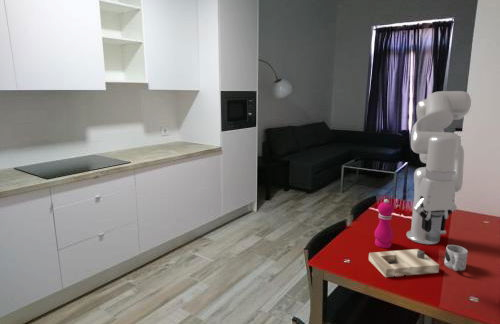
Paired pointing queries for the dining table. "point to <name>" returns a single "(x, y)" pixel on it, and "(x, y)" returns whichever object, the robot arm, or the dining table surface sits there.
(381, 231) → the pepper mill
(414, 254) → the jig
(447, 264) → the mug
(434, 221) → the silver domed cylinder
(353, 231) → the dining table surface
